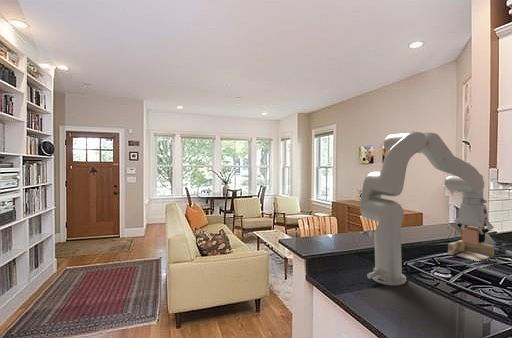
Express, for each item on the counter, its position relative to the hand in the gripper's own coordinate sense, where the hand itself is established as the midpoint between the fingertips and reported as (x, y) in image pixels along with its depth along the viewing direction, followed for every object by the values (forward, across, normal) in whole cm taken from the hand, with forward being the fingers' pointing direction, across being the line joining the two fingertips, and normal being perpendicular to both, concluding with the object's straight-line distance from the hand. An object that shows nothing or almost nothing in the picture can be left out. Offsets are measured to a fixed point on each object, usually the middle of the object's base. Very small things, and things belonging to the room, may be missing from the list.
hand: (473, 240), depth 131 cm
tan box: (+8, +1, 0) cm, 8 cm away
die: (+8, +3, -13) cm, 15 cm away
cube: (+1, 0, 0) cm, 1 cm away
